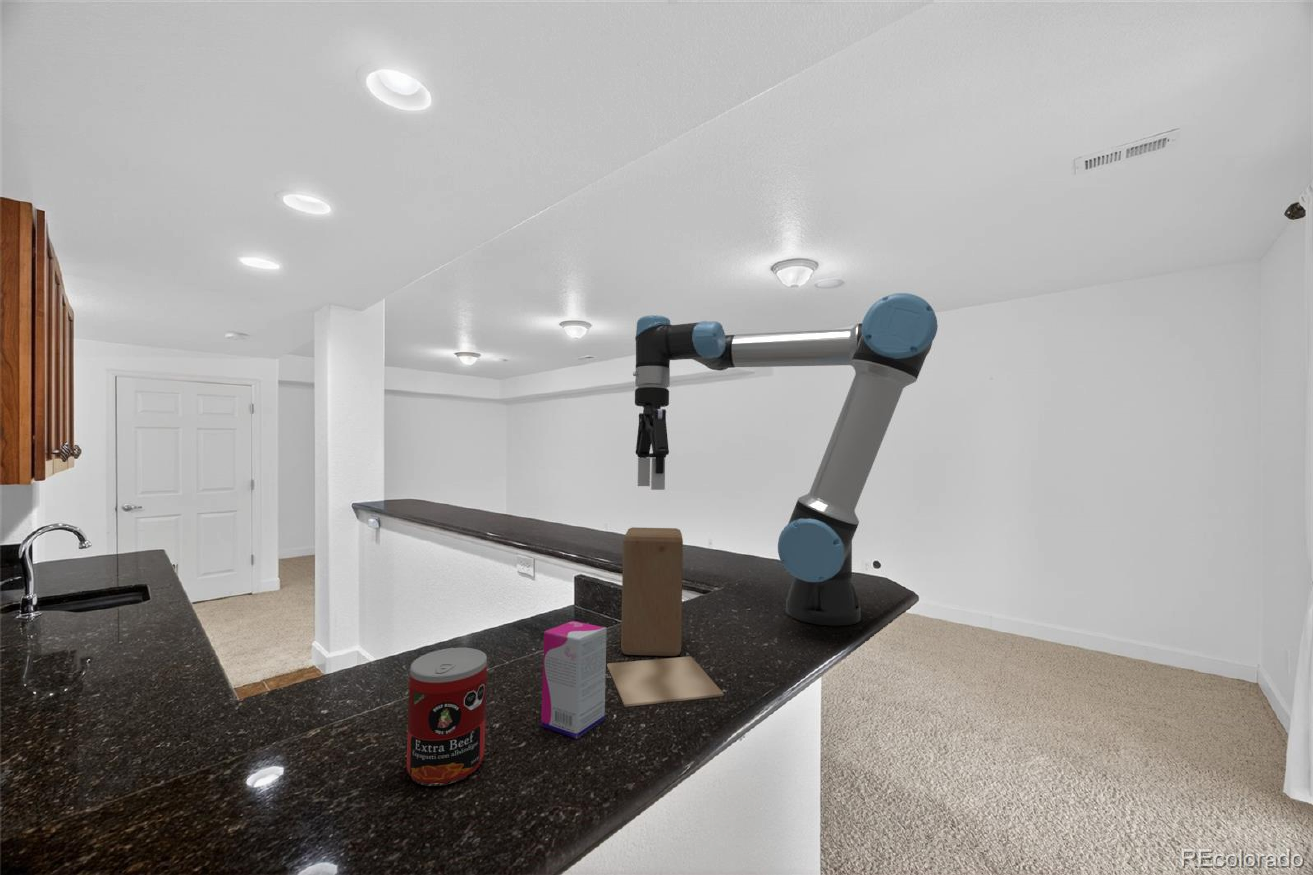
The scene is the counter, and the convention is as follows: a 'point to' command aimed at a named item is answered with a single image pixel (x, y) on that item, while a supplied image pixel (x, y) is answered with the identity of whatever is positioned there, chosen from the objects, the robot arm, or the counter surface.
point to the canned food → (446, 714)
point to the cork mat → (661, 681)
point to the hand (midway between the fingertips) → (650, 487)
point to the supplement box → (573, 678)
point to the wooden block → (652, 592)
